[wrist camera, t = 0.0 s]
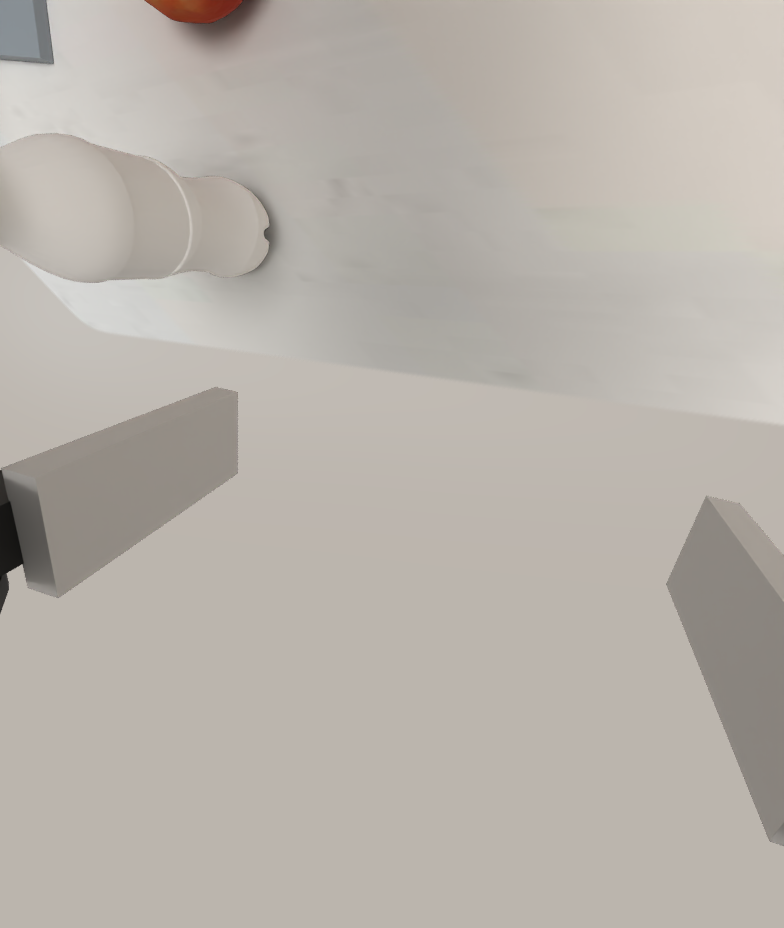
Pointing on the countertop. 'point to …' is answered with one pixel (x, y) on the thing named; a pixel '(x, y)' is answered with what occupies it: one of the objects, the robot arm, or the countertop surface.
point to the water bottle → (122, 214)
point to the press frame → (25, 31)
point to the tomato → (195, 9)
